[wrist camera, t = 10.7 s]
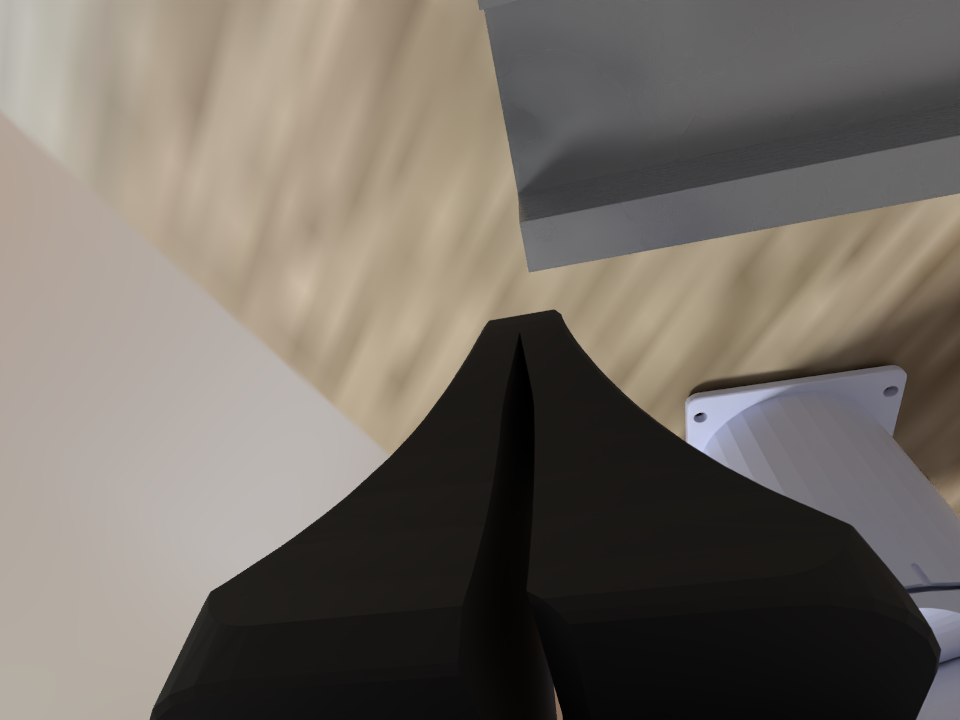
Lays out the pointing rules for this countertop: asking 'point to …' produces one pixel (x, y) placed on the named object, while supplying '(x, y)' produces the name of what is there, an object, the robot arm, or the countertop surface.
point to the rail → (719, 115)
